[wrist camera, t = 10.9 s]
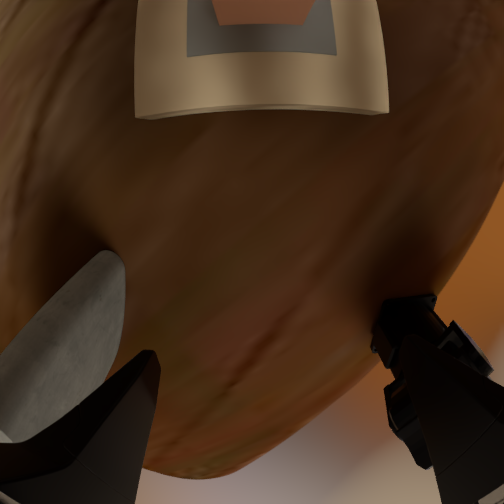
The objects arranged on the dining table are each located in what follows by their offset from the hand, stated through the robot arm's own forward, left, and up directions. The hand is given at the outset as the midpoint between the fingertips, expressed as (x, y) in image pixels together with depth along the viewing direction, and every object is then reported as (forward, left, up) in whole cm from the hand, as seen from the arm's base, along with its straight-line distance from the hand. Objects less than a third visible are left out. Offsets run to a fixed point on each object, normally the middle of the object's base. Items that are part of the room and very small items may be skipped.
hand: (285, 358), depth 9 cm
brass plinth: (0, -17, -13) cm, 21 cm away
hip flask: (+16, +9, -13) cm, 22 cm away
